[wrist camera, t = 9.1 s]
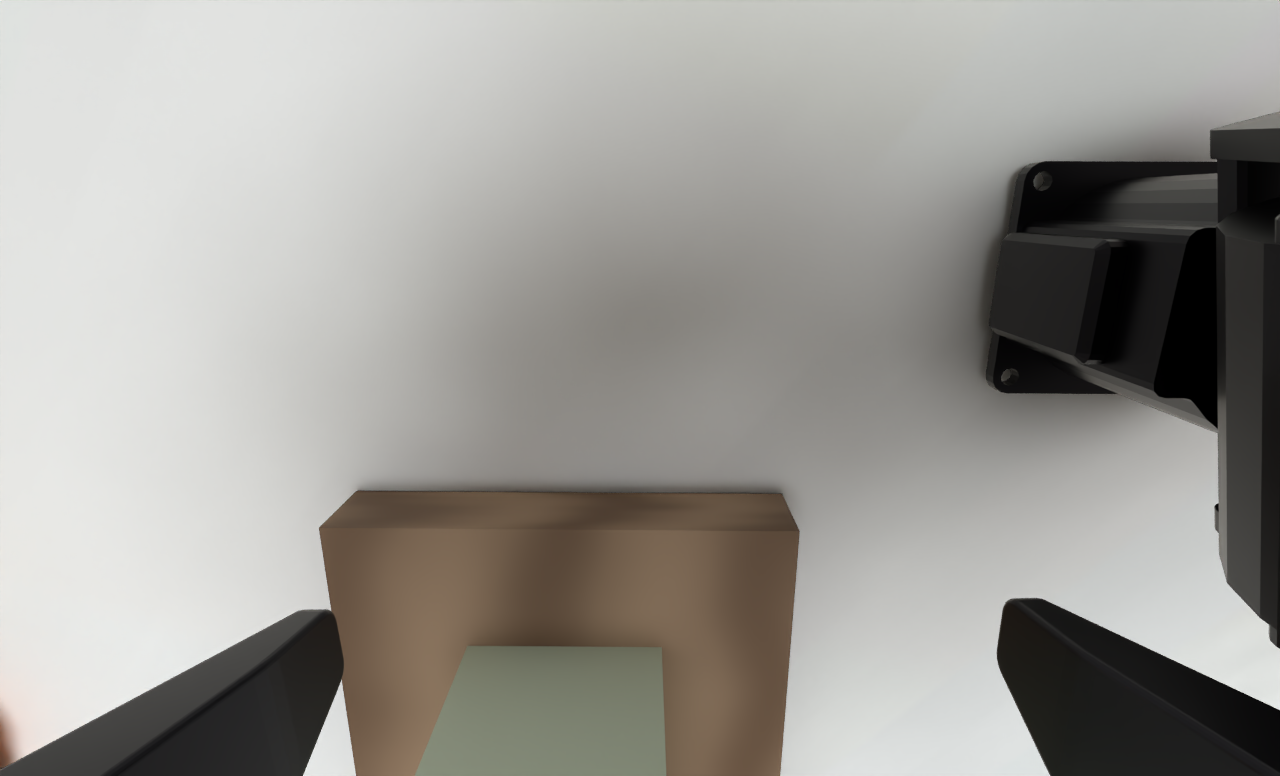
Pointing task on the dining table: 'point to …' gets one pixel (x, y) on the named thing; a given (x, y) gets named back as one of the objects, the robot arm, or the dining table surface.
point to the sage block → (551, 714)
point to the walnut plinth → (567, 608)
